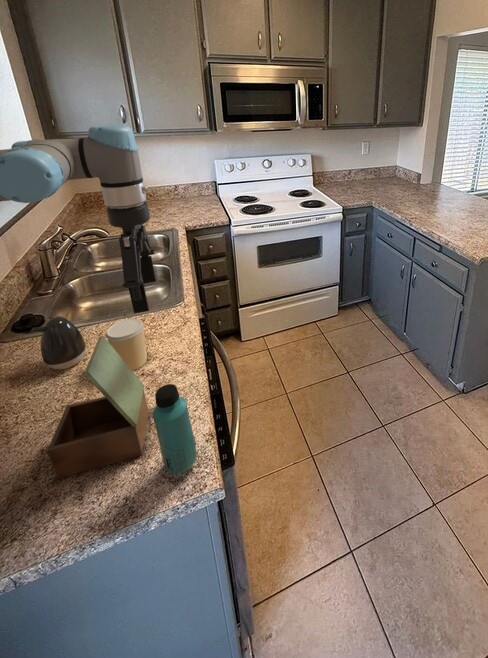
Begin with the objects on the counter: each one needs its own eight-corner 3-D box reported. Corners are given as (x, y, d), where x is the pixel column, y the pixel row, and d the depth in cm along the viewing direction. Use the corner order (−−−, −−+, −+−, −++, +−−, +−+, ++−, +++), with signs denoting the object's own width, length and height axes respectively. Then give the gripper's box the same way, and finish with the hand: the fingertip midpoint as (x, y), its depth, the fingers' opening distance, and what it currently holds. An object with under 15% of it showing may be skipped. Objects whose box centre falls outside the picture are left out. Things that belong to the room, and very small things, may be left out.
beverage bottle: (204, 453, 77) (191, 380, 70) (186, 484, 71) (170, 407, 64) (177, 447, 78) (162, 374, 71) (157, 477, 72) (139, 400, 65)
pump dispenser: (43, 362, 104) (28, 318, 99) (84, 346, 111) (72, 304, 106) (48, 381, 97) (32, 334, 92) (92, 363, 104) (79, 318, 99)
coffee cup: (152, 348, 109) (145, 315, 105) (147, 369, 101) (139, 333, 97) (118, 355, 107) (109, 321, 103) (110, 377, 98) (101, 340, 94)
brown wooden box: (57, 478, 72) (46, 450, 69) (75, 431, 82) (66, 405, 80) (142, 455, 77) (135, 428, 74) (149, 412, 87) (143, 387, 84)
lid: (83, 373, 67) (87, 371, 67) (99, 336, 77) (102, 335, 77) (133, 427, 74) (136, 425, 74) (141, 387, 84) (144, 385, 84)
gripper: (137, 220, 63) (158, 323, 70) (153, 188, 85) (168, 269, 92) (89, 225, 60) (115, 331, 68) (118, 191, 83) (136, 273, 90)
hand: (146, 295), depth 80 cm, fingers open, 13 cm apart
